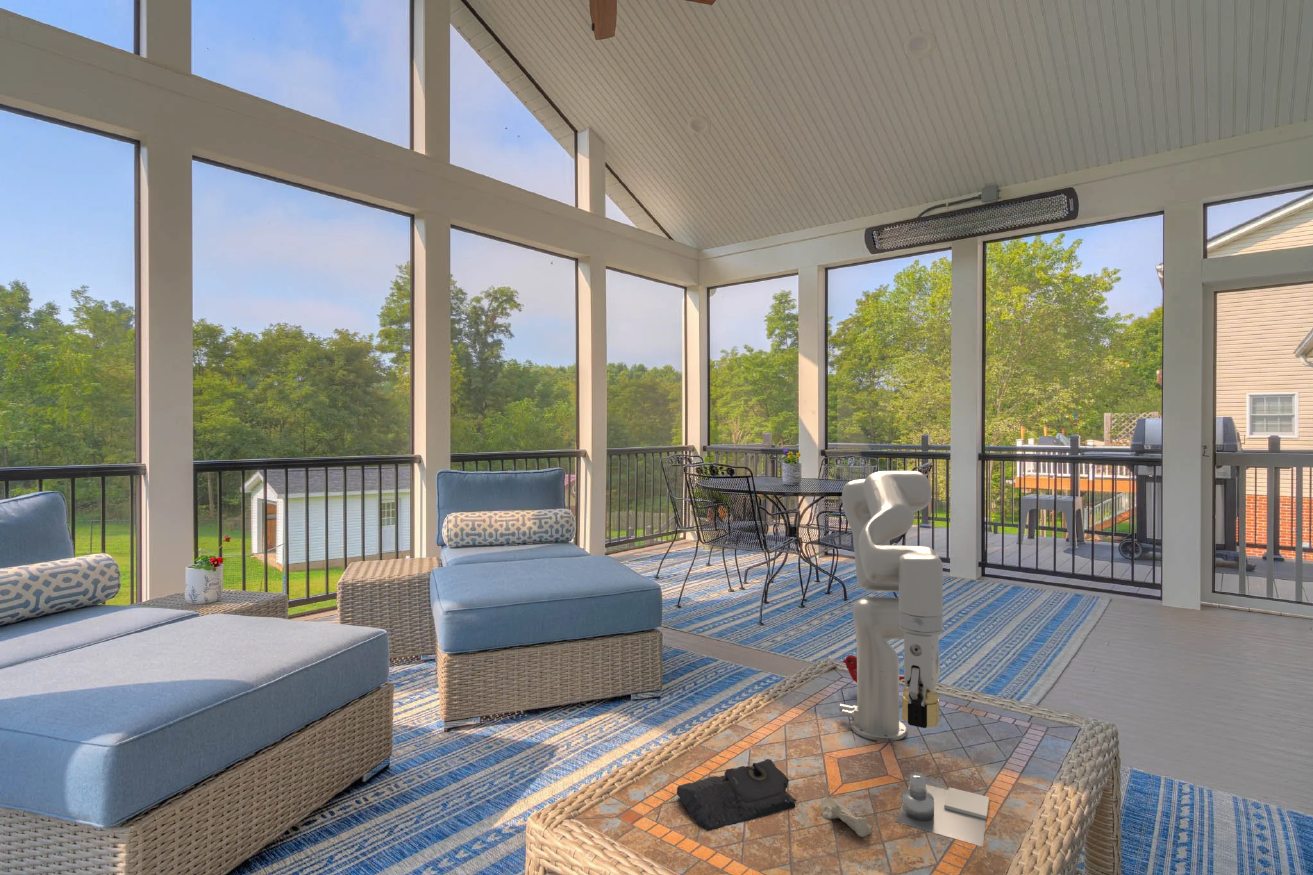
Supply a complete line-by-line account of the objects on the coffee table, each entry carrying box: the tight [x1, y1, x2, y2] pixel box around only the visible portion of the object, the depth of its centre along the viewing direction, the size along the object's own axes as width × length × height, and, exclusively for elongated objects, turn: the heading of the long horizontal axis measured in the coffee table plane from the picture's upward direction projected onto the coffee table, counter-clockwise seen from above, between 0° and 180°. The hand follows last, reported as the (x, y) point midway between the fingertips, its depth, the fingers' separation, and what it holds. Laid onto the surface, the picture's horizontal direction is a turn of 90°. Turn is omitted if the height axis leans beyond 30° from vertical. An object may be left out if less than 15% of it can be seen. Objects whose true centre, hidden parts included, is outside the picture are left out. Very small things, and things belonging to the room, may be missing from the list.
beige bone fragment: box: [820, 795, 873, 838], centre depth 117 cm, size 6×10×4 cm, turn 36°
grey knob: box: [901, 771, 934, 821], centre depth 120 cm, size 5×5×7 cm
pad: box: [944, 786, 990, 820], centre depth 122 cm, size 7×7×1 cm
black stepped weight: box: [676, 758, 798, 831], centre depth 127 cm, size 15×22×5 cm
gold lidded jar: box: [901, 686, 940, 729], centre depth 120 cm, size 6×6×6 cm
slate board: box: [895, 784, 987, 848], centre depth 120 cm, size 14×16×1 cm
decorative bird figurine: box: [841, 654, 904, 684], centre depth 176 cm, size 3×18×10 cm, turn 67°
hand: (920, 717), depth 120 cm, fingers closed on gold lidded jar, 6 cm apart
